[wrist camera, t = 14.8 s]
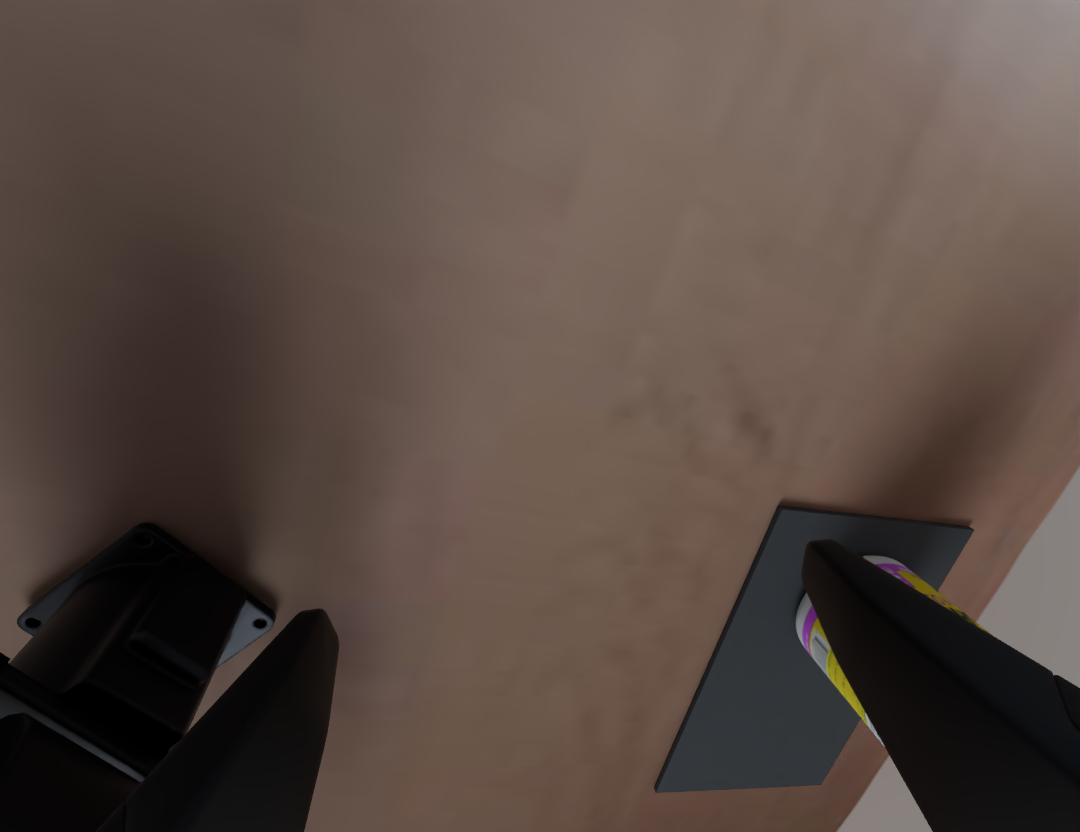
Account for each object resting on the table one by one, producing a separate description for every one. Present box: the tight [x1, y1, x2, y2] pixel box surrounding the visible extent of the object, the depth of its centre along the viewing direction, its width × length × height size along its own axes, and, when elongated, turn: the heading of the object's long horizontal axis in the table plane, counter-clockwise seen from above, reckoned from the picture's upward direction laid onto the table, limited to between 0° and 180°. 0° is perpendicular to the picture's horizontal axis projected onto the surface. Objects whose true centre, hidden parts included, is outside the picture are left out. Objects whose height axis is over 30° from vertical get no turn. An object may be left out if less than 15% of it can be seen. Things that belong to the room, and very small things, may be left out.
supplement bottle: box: [796, 555, 990, 747], centre depth 22 cm, size 7×7×13 cm
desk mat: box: [654, 506, 974, 793], centre depth 30 cm, size 20×12×1 cm, turn 167°
